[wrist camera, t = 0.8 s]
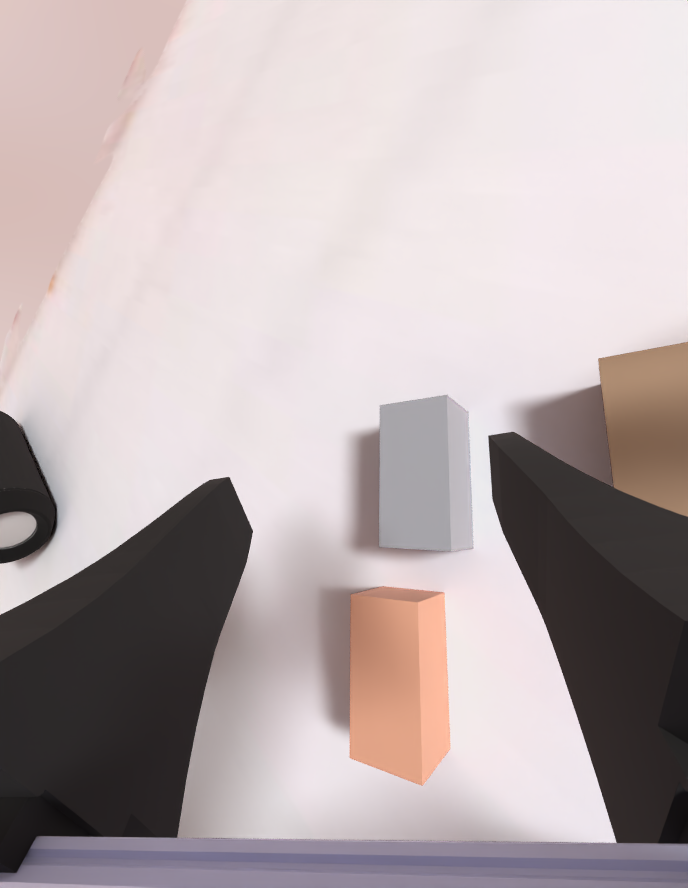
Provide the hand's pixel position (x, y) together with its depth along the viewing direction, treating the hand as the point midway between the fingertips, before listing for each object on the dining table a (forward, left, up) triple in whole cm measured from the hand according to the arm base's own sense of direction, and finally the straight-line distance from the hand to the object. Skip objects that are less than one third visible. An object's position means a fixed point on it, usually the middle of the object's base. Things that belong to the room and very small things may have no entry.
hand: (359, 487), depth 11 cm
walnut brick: (+2, -8, -14) cm, 17 cm away
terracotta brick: (-9, +5, -14) cm, 18 cm away
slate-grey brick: (+2, +3, -14) cm, 15 cm away
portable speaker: (+5, +63, -15) cm, 65 cm away
